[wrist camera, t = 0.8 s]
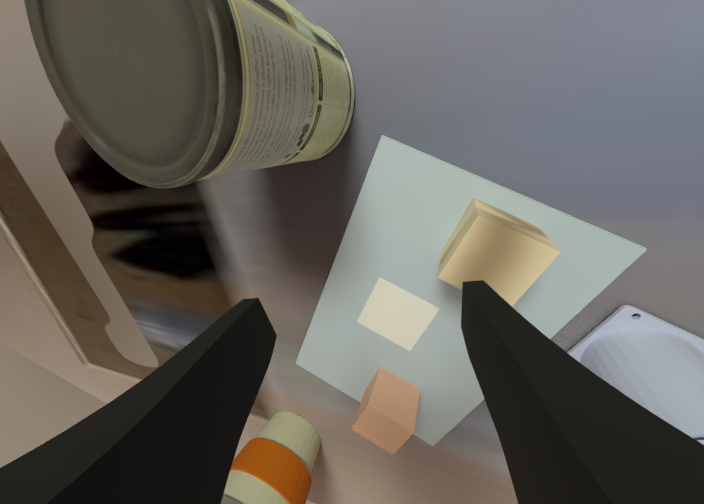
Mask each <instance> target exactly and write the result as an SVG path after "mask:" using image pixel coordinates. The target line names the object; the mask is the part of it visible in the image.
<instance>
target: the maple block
mask: <svg viewBox="0 0 704 504" xmlns="http://www.w3.org/2000/svg"><path fill="white" fill-rule="evenodd" d="M560 253H561V252H560V250H559V249H558V248H557V247H556V246H555V245H554V244H553V243H552V242H551V241H550V239H549V238H548V237H547V236H546V235H545V234H544V233H543V232H542V231H541V229H540V228H539V227H538V226H536V225H534V224H531V223H529V222H527V221H525V220H522V219H520V218H518V217H515V216H513V215H511V214H509V213H506V212H504V211H502V210H500V209H497V208H495V207H493V206H491V205H488V204H486V203H484V202H482V201H479V200H477V199H475V198H473V200H472V201H471V203H470V204H469V206H468V208H467V209H466V211H465V213H464V214H463V216H462V217H461V219H460V221H459V222H458V224H457V226H456V227H455V229H454V230H453V232H452V234H451V235H450V237H449V239H448V240H447V242H446V243H445V245H444V247H443V248H442V250H441V256H440V264H439V272H438V278H440V279H441V280H443V281H445V282H447V283H449V284H451V285H453V286H455V287H457V288H459V289H461V290H462V285H463V282H466V281H478V280H483V281H485V282H486V283H487V284H488V285H489V286H490V287H491V288H492V289H493V290H494V291H495V292H497V293H498V294H499V295H500V296H501V297H502V298H503V299H504V300H505V301H506V302H507V303H508V304H510V305H511V306H513V305H514V304H515V303H516V302H517V301H518V300H519V299H520V297H521V296H522V295H523V294H524V293H525V292H526V291H527V290H528V289H529V287H530V286H531V285H532V284H533V283H534V282H535V281H536V280H537V278H538V277H539V276H540V275H541V274H542V273H543V272H544V271H545V269H546V268H547V267H548V266H549V265H550V264H551V263H552V262H553V261H554V259H555V258H556V257H557V256H558V255H559V254H560Z"/></svg>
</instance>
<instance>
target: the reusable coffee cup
mask: <svg viewBox="0 0 704 504" xmlns="http://www.w3.org/2000/svg"><path fill="white" fill-rule="evenodd" d="M320 444H321V440H320V436H319V434H318V432H317V431H316V430H315V428H314V427H313V426H312V425H311V424H310V423H309V422H308V421H306V420H305V419H304V418H302V417H300V416H298V415H296V414H294V413H291V412H286V411H281V412H278V413H276V414H275V415H274V416H273V417H272V418H271V420H270V421H269V422H268V423H267V425H266V426H265V427H264V428H263V429H262V431H261V432H260V433H259V434H258V435H257V437H256V438H254V439H251V440H250V441H249V442H248V443H247V444H246V446H245V447H244V448H243V449H242V450H241V452H240V453H239V454H238V455H237V456H236V458H235V459H234V460H233V462H232V466H231V469H230V472H229V476H228V479H227V483H226V486H225V490H224V494H223V497H222V501H221V504H305V503H306V500H307V496H308V493H309V490H310V486H311V483H312V482H311V473H312V470H313V467H314V464H315V460H316V457H317V454H318V451H319V447H320Z"/></svg>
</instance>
